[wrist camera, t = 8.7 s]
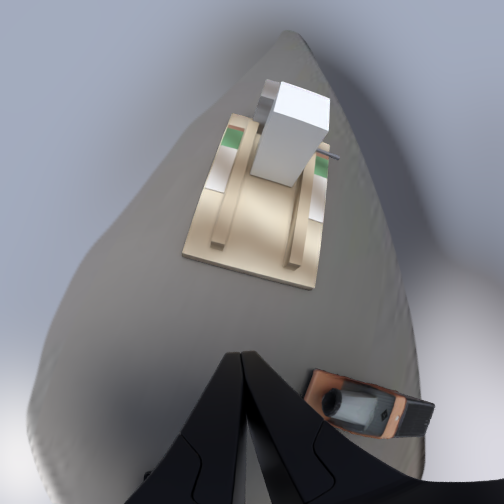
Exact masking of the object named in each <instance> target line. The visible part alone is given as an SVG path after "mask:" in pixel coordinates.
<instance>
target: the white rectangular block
mask: <svg viewBox="0 0 504 504" xmlns="http://www.w3.org/2000/svg"><path fill="white" fill-rule="evenodd" d="M329 110H330V99H329V98H326V97H324V96H321V95H319V94H316V93H313V92H311V91H308V90H305V89H303V88H300V87H297V86H294V85H291V84H288V83H285V82H281V84H280V87H279V89H278V92H277V95H276V97H275V100H274V102H273V105H272V108H271V110H270V113H269V116H268V118H267V121H266V124H265V126H264V129H263V132H262V135H261V137H260V140H259V143H258V146H257V150H256V153H255V157H254V160H253V164H252V168H251V171H250V174H251V175H254V176H257V177H261V178H264V179H267V180H271V181H274V182H277V183H280V184H283V185H286V186H289V187H292V186H293V185H294V183H295V182H296V180H297V179H298V177H299V175H300V174H301V172H302V171H303V169H304V168H305V166H306V165H307V163H308V162H309V160H310V159H311V157H312V156H313V154H314V153H315V152H318V153H321V154H323V155H326V156H328V157H331V158H333V159H336V160H339V156H337V155H335V154H332V153H330V152H327V151H325V150H322V149H319V148H318V146H319V145H320V143H321V142H322V140H323V139H324V137H325V136H326V134H327V133H328V131H329Z"/></svg>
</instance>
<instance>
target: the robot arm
mask: <svg viewBox="0 0 504 504" xmlns="http://www.w3.org/2000/svg"><path fill="white" fill-rule="evenodd" d="M246 415H247V417H246ZM247 421H248V426H249V430H250V433H251V437H252V440H253V444H254V447H255V451H256V454H257V457H258V461H259V464H260V467H261V471H262V474H263V477H264V480H265V483H266V487H267V490H268V493H269V496H270V499H271V502H272V504H504V479H499V480H489V481H476V482H432V481H431V482H430V481H423V480H419V479H416V478H413V477H410V476H407V475H405V474H403V473H401V472H400V471H398V470H396V469H394V468H393V467H391V466H389V465H387V464H386V463H384V462H382V461H381V460H379V459H377V458H376V457H374V456H373V455H371V454H369V453H368V452H366V451H365V450H363V449H362V448H360V447H359V446H357V445H356V444H354V443H353V442H351V441H350V440H349V439H347V438H346V437H345V436H344V435H342V434H341V433H340V432H339V431H338V430H336V429H335V428H334V427H333V426H332V425H331V424H330V423H329V422H328V421H326V420H324V418H323V417H322V416H321V415H320V414H319V413H318V412H317V411H315V410H314V409H313V408H312V407H311V406H310V405H309V404H308V403H307V402H306V401H305V400H304V399H303V398H302V397H301V396H300V395H299V394H298V393H296V392H295V391H294V390H293V389H292V388H291V387H290V386H289V385H288V384H287V383H286V382H285V381H284V380H283V379H282V378H281V377H280V376H279V375H278V374H277V373H276V372H275V371H274V370H273V369H272V368H271V367H270V366H269V365H268V364H267V363H266V362H265V361H264V360H263V358H262V357H261V356H260V355H259V354H258V353H257V352H256V351H243V352H241V354H240V352H228V353H226V354H225V355H224V357H223V359H222V360H221V362H220V364H219V366H218V367H217V369H216V371H215V373H214V374H213V376H212V378H211V380H210V381H209V383H208V385H207V387H206V388H205V390H204V392H203V393H202V395H201V397H200V399H199V400H198V402H197V404H196V406H195V407H194V409H193V411H192V412H191V414H190V416H189V417H188V419H187V421H186V422H185V424H184V426H183V427H182V429H181V431H180V434H178V436H177V437H176V439H175V441H174V442H173V444H172V445H171V447H170V448H169V450H168V451H167V453H166V454H165V456H164V457H163V459H162V460H161V462H160V463H159V464H158V465H157V467H156V468H155V469H154V470H153V471H152V472H146V473H145V475H144V482H143V483H142V484H141V485H140V486H139V488H138V489H137V490H136V491H135V492H134V493H133V494H132V495H131V496H130V497H129V499H128V500H127V501H126V502H125V503H124V504H245V484H246V443H247Z"/></svg>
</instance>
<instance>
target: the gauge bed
mask: <svg viewBox="0 0 504 504" xmlns="http://www.w3.org/2000/svg"><path fill="white" fill-rule="evenodd" d="M280 84H281V83H278V82H275V81H272V80H268V79H266V82H265V85H264V87H263V90H262V93H261V96H260V99H259V102H258V105H257V108H256V111H255V115H254V118H253V119H252V118H248V117H245V116H241V115H237V114H233V113H232V115H231V118H230V120H229V123H228V125H227V128H226V130H225V133H224V135H223V138H222V140H221V143H220V145H219V148H218V150H217V153H216V156H215V158H214V161H213V164H212V166H211V169H210V172H209V174H208V177H207V180H206V183H205V185H204V188H203V191H202V194H201V197H200V200H199V202H198V205H197V208H196V211H195V214H194V217H193V220H192V223H191V226H190V229H189V232H188V236H187V239H186V242H185V245H184V248H183V252H182V257H186V258H189V259H193V260H196V261H200V262H204V263H207V264H211V265H215V266H218V267H222V268H226V269H229V270H233V271H237V272H241V273H244V274H248V275H252V276H256V277H260V278H263V279H267V280H271V281H275V282H279V283H283V284H287V285H291V286H295V287H299V288H303V289H307V290H312V289H314V288H315V282H316V275H317V268H318V261H319V253H320V245H321V237H322V228H323V219H324V209H325V199H326V187H327V175H328V161H329V157H328V156H326V155H323V154H321V153H318V152H315V153H314V154H313V156H312V157H311V159H310V160H309V162H308V163H307V165H306V166H305V168H304V169H303V171H302V172H301V174H300V175H299V177H298V179H297V180H296V182H295V183H294V185H293V186H292V187H289V186H286V185H283V184H280V183H277V182H274V181H271V180H267V179H264V178H261V177H257V176H254V175H251V174H250V171H251V168H252V164H253V160H254V157H255V153H256V150H257V146H258V143H259V140H260V137H261V135H262V132H263V129H264V126H265V124H266V121H267V118H268V116H269V113H270V110H271V108H272V105H273V102H274V100H275V97H276V95H277V92H278V89H279V87H280ZM318 148H319V149H322V150H325V151H327V152H329V145H328V144H326V143H323V142H321V143H320V145H319V146H318Z"/></svg>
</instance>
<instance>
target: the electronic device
mask: <svg viewBox="0 0 504 504" xmlns="http://www.w3.org/2000/svg"><path fill="white" fill-rule="evenodd" d="M304 400H305V401H306V402H307V403H308V404H309V405H310V406H311V407H312V408H313V409H314V410H315V411H317V412H318V413H319V414H320V415H321V416H322V417H323V418H324V420H326V421H328V422H329V423H330V424H331V425H332V426H333V427H335V428H340V429H342V430H344V431H348V432H350V433H351V434H356V435H361V436H365V437H371V438H377V439H382V438H386V439H390V438H395V437H396V438H399V437H423V436H424V435H425V433H426V430H427V427H428V425H429V423H430V419H431V417H432V414H433V411H434V408H435V405H434V404H433V403H430V402H427V401H424V400H420V399H417V398H414V397H411V396H408V395H405V394H401V393H399V392H398V391H395V390H390V389H386V388H383V387H380V386H378V385H375V384H370V383H364V382H361V381H357V380H354V379H351V378H348V377H345V376H339V375H338V374H337V375H336V374H332V373H329V372H326V371H324V370H319V369H314V371H313V375H312V378H311V381H310V383H309V386H308V388H307V391H306V394H305V397H304Z"/></svg>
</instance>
